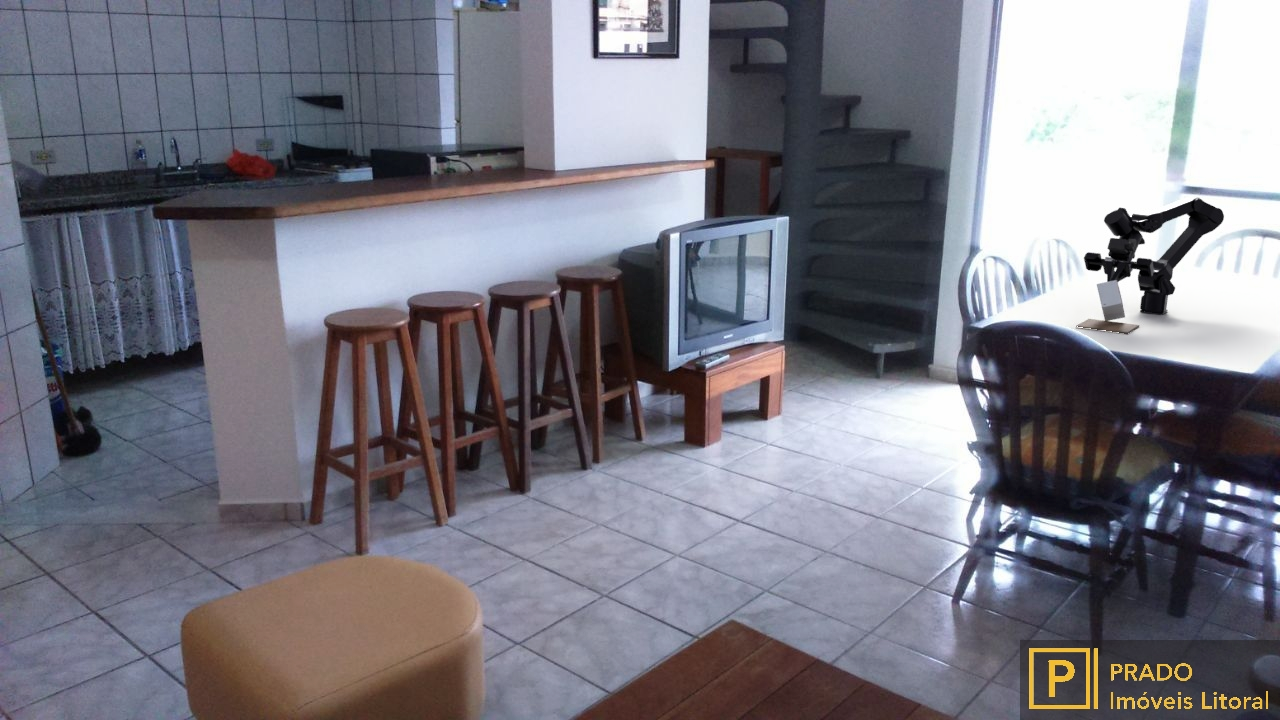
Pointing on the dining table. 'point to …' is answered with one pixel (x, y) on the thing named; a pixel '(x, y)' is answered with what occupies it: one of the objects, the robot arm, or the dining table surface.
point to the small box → (1111, 300)
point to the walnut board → (1108, 326)
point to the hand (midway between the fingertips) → (1108, 286)
